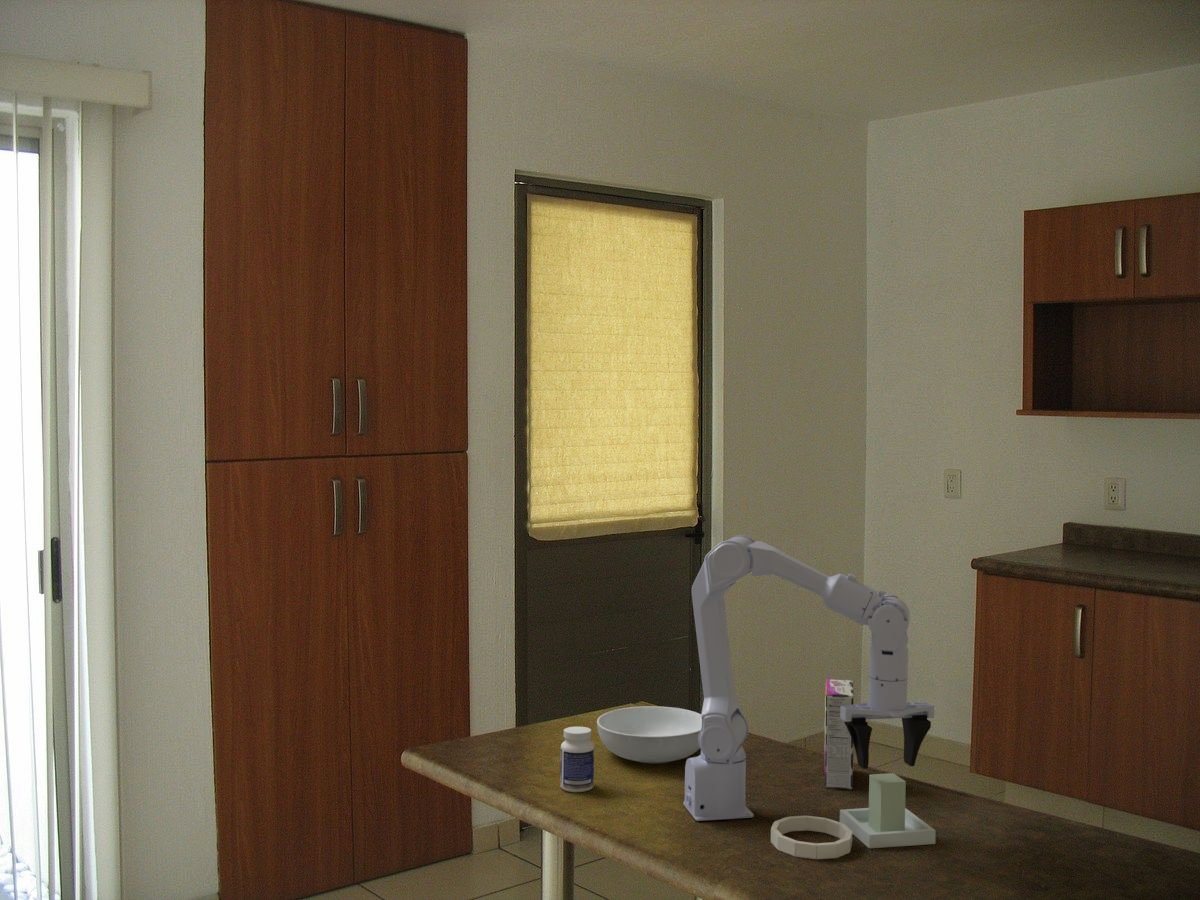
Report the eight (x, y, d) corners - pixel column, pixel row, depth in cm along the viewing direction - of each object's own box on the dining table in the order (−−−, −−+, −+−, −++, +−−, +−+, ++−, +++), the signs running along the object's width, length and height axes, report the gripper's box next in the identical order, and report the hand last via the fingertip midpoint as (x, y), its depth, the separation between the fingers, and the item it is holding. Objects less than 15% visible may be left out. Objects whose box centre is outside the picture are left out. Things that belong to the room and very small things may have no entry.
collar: (788, 861, 159) (788, 847, 159) (760, 831, 170) (761, 818, 170) (864, 855, 161) (864, 842, 161) (832, 826, 173) (832, 813, 173)
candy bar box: (823, 768, 201) (825, 678, 201) (851, 770, 200) (853, 679, 200) (823, 788, 190) (825, 693, 190) (853, 790, 189) (855, 695, 189)
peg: (880, 835, 168) (881, 783, 168) (868, 825, 172) (869, 774, 171) (904, 833, 169) (905, 781, 168) (892, 824, 173) (893, 773, 172)
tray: (869, 848, 164) (869, 835, 164) (839, 822, 174) (839, 809, 174) (935, 843, 166) (935, 830, 166) (902, 818, 177) (902, 805, 177)
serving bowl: (636, 734, 222) (637, 699, 222) (729, 753, 210) (729, 717, 209) (573, 759, 205) (574, 722, 205) (670, 782, 193) (670, 743, 192)
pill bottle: (600, 789, 188) (601, 731, 188) (572, 795, 185) (572, 736, 185) (581, 780, 193) (582, 723, 193) (553, 786, 190) (554, 728, 190)
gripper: (854, 685, 164) (852, 776, 165) (945, 681, 167) (942, 771, 168) (835, 674, 171) (833, 761, 172) (922, 670, 174) (920, 757, 175)
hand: (886, 765), depth 170 cm, fingers open, 7 cm apart
